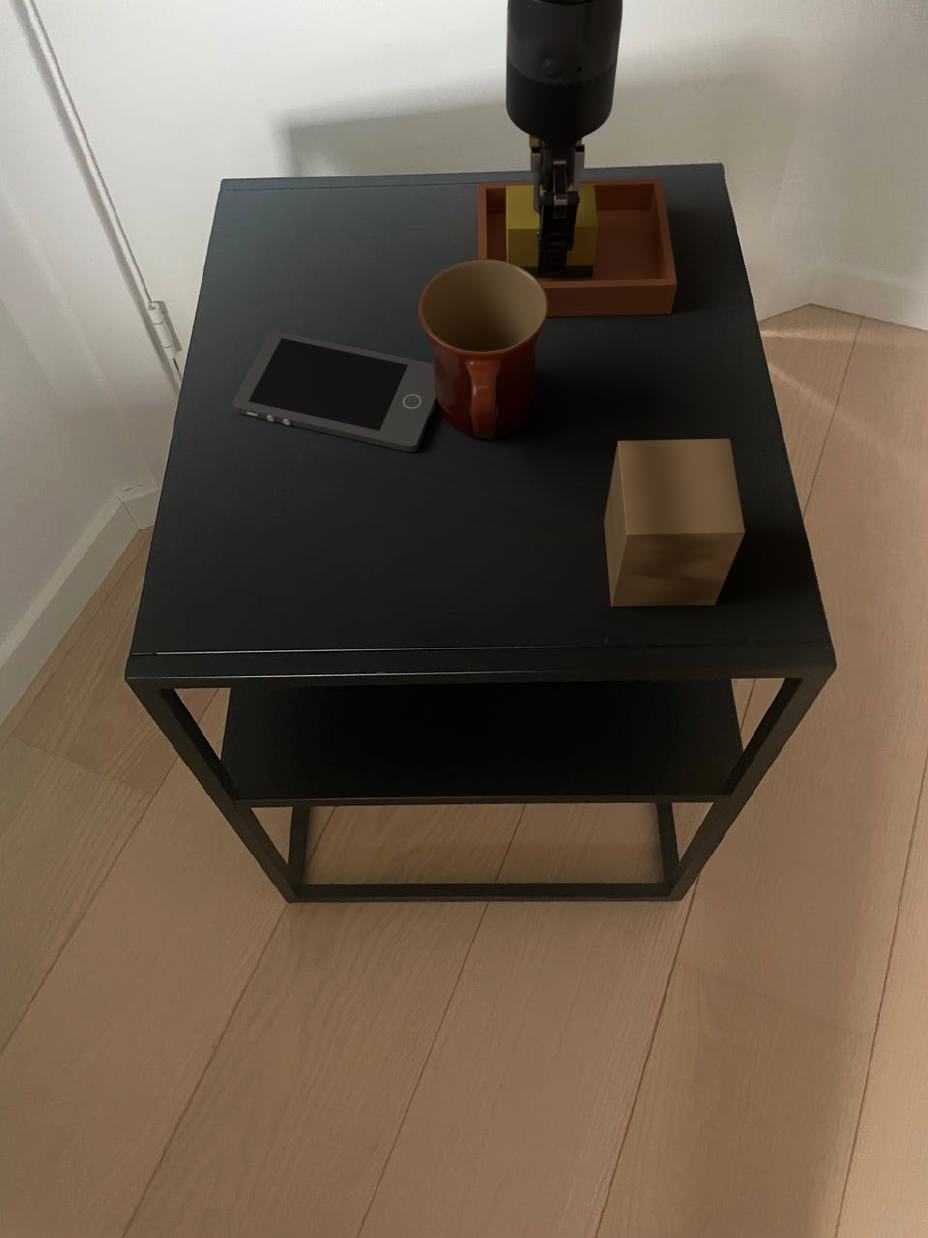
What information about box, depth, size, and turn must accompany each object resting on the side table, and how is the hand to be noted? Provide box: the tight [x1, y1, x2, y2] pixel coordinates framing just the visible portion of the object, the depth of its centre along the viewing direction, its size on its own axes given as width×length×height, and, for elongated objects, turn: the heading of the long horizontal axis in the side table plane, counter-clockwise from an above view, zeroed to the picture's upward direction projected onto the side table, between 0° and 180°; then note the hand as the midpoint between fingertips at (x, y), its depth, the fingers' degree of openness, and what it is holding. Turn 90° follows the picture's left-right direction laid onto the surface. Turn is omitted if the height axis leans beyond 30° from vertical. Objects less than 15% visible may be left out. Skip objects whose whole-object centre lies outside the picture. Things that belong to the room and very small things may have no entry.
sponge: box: [506, 184, 598, 278], centre depth 77 cm, size 7×5×5 cm
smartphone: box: [231, 330, 438, 453], centre depth 74 cm, size 15×8×1 cm, turn 73°
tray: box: [477, 177, 678, 318], centre depth 79 cm, size 15×12×3 cm
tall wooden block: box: [603, 438, 746, 608], centre depth 62 cm, size 7×7×9 cm
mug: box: [417, 258, 549, 440], centre depth 68 cm, size 12×9×10 cm
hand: (549, 248), depth 79 cm, fingers closed on sponge, 5 cm apart
